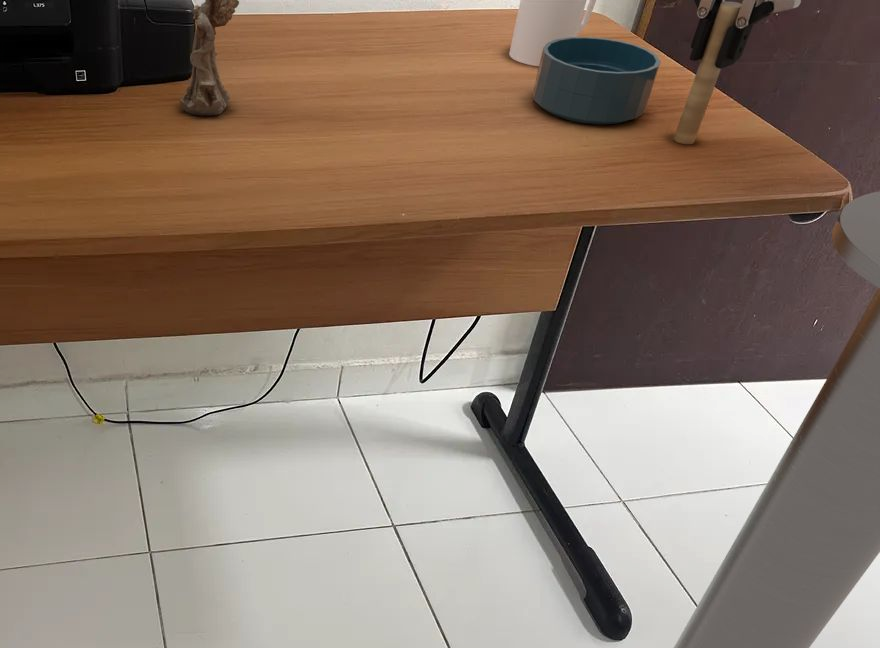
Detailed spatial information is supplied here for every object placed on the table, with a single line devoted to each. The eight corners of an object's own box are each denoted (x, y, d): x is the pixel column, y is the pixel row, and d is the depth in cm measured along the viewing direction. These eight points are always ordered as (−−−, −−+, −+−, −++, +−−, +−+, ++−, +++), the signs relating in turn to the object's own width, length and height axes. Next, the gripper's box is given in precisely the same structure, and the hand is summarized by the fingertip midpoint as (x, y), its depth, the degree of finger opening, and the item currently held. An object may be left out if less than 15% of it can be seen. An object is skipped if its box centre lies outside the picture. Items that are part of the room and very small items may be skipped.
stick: (697, 144, 100) (748, 7, 91) (679, 144, 100) (728, 7, 90) (687, 136, 102) (736, 1, 92) (669, 137, 101) (716, 1, 92)
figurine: (189, 94, 108) (187, -47, 98) (238, 98, 107) (241, -43, 97) (176, 117, 103) (173, -30, 92) (228, 121, 102) (230, -26, 92)
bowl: (663, 125, 104) (681, 71, 100) (558, 129, 102) (572, 74, 98) (612, 86, 113) (627, 35, 109) (515, 89, 112) (526, 38, 108)
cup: (604, 57, 122) (627, -25, 115) (538, 70, 117) (558, -15, 110) (561, 40, 127) (581, -40, 120) (496, 52, 122) (513, -31, 116)
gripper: (894, -140, 80) (802, 76, 92) (727, -162, 89) (664, 36, 101) (856, -132, 76) (766, 91, 89) (685, -157, 85) (625, 48, 98)
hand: (712, 60), depth 95 cm, fingers closed on stick, 2 cm apart
